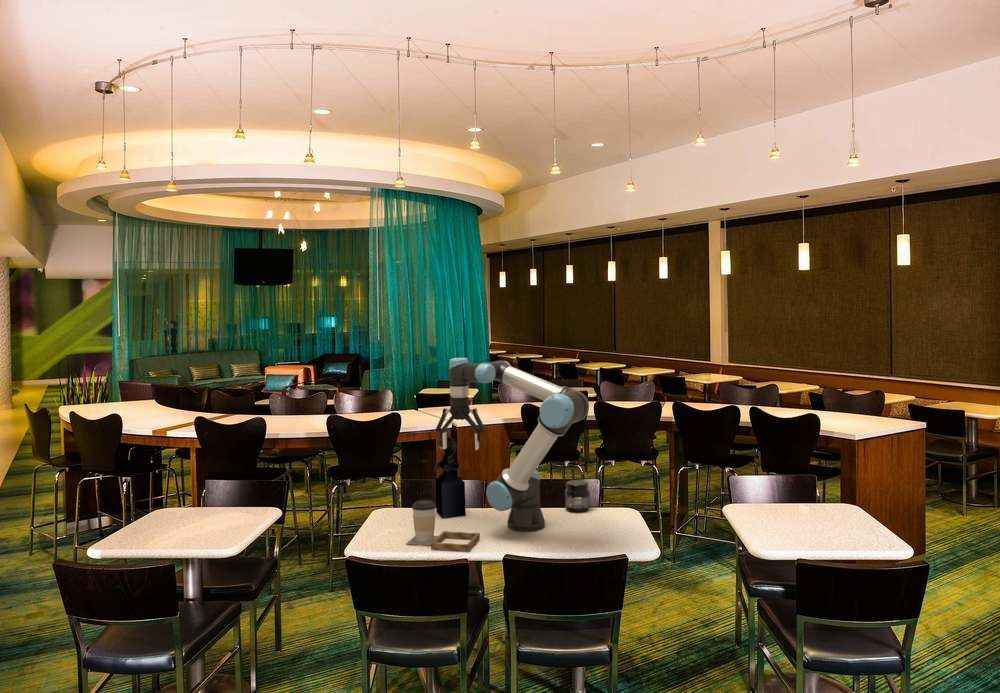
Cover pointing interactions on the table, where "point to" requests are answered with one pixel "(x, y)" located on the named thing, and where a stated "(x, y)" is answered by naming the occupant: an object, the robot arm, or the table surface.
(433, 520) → the coffee cup
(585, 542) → the table surface
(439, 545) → the wooden square frame
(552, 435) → the robot arm
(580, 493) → the supplement container
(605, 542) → the table surface
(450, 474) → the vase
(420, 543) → the mat
